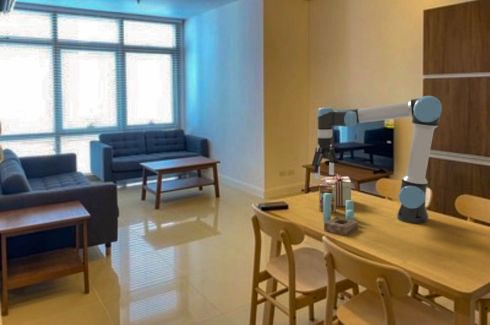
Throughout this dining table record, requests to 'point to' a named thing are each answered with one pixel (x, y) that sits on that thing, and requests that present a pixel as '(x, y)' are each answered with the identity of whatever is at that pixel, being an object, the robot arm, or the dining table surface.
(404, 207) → the robot arm
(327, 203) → the long dowel
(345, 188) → the gift box
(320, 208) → the candy box
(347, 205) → the medium dowel
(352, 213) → the short dowel
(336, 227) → the walnut block
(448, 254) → the dining table surface
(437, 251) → the dining table surface
